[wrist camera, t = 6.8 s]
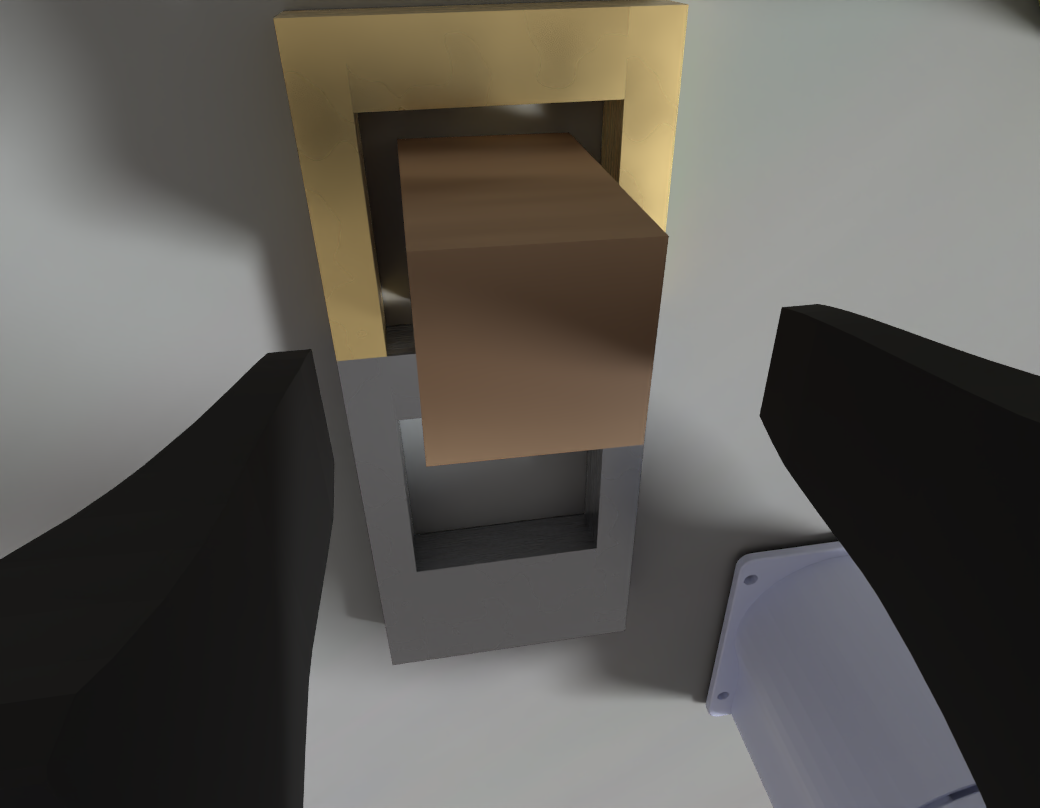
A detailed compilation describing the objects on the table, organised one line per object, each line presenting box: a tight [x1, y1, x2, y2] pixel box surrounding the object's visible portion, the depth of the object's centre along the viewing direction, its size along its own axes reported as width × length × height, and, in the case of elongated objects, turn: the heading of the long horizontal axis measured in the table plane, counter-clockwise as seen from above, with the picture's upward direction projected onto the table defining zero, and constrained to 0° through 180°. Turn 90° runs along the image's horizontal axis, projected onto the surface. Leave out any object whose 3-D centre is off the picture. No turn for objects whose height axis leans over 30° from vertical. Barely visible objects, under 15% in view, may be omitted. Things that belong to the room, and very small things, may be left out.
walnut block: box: [397, 132, 669, 467], centre depth 15 cm, size 4×4×7 cm
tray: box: [273, 0, 688, 665], centre depth 19 cm, size 19×8×2 cm, turn 1°
